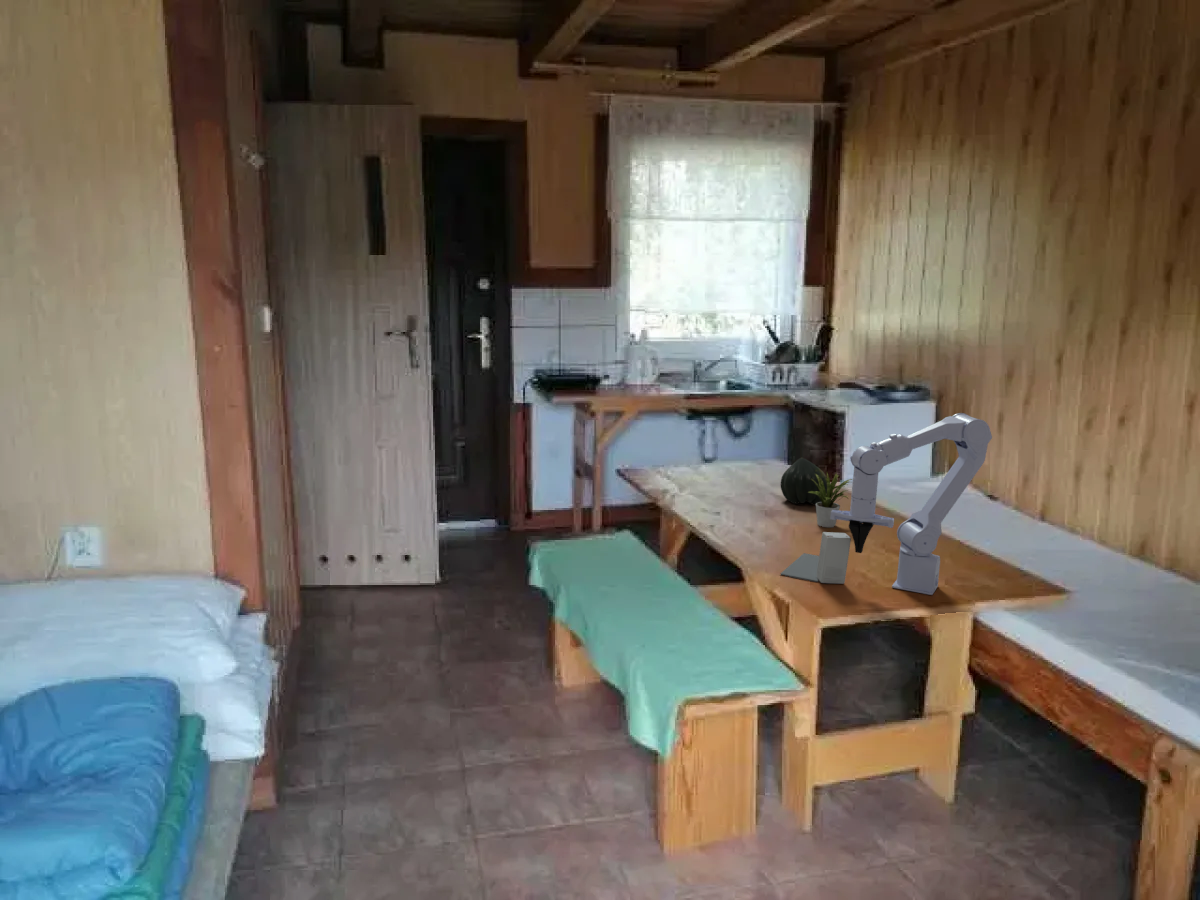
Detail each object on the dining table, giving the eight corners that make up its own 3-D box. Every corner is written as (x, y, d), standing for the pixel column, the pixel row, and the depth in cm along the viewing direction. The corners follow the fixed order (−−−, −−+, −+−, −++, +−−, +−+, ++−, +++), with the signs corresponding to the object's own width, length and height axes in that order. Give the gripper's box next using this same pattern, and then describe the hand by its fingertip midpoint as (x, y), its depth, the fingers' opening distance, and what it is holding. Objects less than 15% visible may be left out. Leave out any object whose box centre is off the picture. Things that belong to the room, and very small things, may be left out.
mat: (839, 560, 245) (839, 559, 245) (817, 582, 229) (817, 580, 228) (803, 554, 250) (803, 553, 250) (780, 575, 233) (780, 573, 233)
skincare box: (838, 578, 232) (846, 532, 229) (845, 585, 227) (852, 538, 224) (814, 577, 231) (821, 530, 228) (820, 583, 227) (827, 536, 224)
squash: (824, 495, 291) (828, 454, 298) (776, 492, 296) (781, 451, 303) (826, 515, 303) (830, 475, 310) (780, 512, 307) (785, 473, 314)
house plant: (853, 535, 269) (858, 480, 265) (804, 531, 271) (809, 476, 268) (850, 521, 282) (855, 469, 279) (804, 517, 285) (808, 465, 282)
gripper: (897, 497, 222) (892, 551, 225) (836, 489, 228) (831, 542, 231) (893, 504, 216) (888, 560, 219) (830, 495, 222) (826, 550, 224)
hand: (858, 551), depth 224 cm, fingers closed
